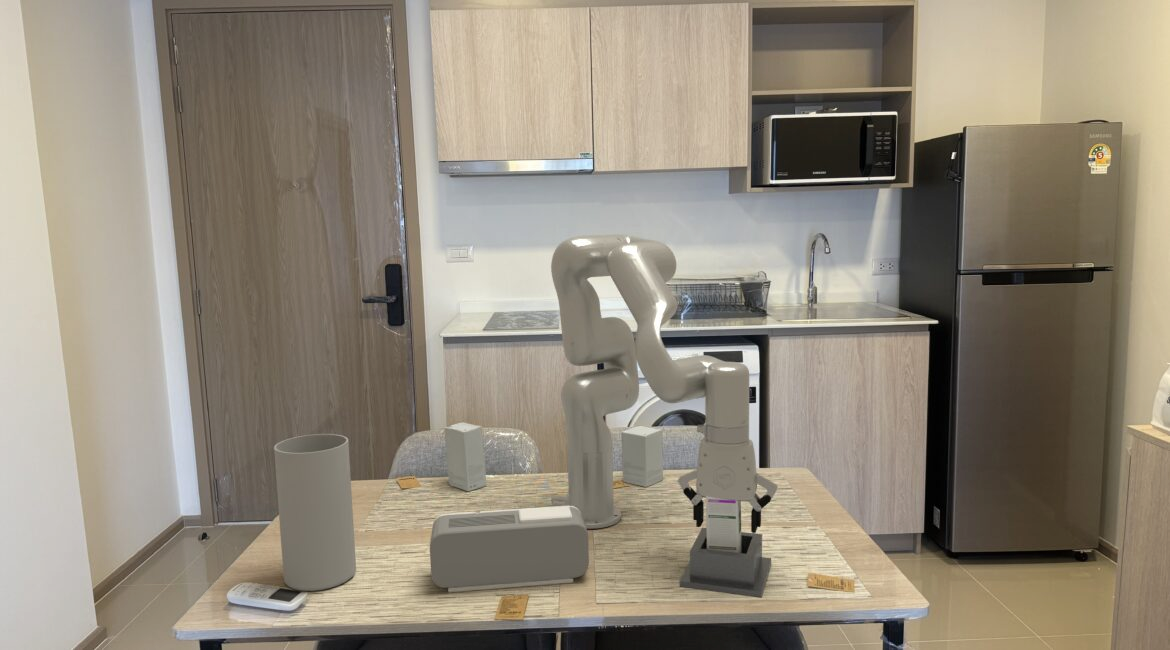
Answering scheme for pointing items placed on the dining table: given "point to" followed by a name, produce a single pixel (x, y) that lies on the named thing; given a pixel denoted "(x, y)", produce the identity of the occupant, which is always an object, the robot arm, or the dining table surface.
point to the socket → (728, 567)
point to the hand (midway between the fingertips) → (726, 527)
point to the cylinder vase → (315, 511)
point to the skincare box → (465, 456)
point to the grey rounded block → (508, 548)
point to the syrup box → (723, 525)
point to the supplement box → (642, 456)
